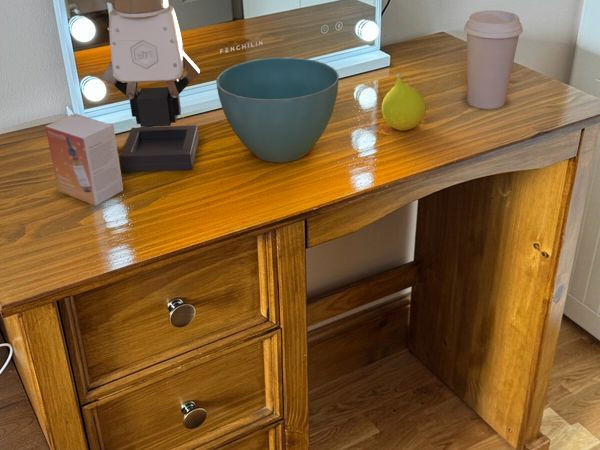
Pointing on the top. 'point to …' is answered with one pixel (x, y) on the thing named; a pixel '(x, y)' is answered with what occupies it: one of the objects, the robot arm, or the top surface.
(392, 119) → the ornament
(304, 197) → the top surface
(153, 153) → the small dark tray
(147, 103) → the black cube
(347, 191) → the top surface
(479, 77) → the coffee cup
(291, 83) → the teal bowl
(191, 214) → the top surface
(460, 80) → the top surface
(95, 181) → the small box
